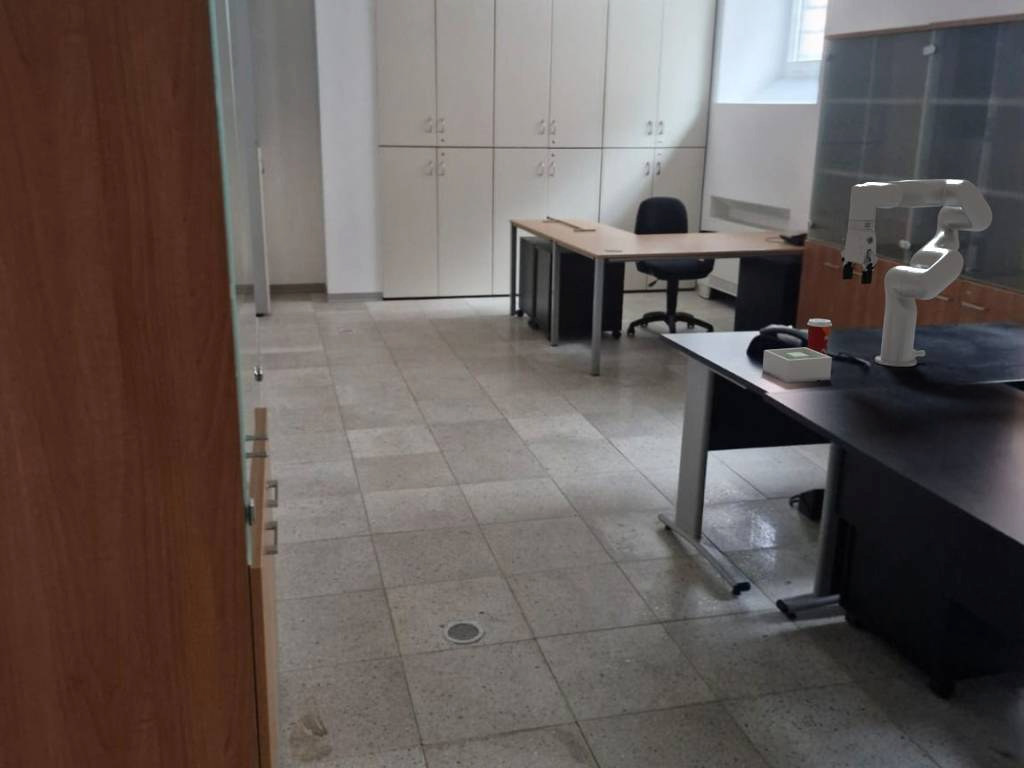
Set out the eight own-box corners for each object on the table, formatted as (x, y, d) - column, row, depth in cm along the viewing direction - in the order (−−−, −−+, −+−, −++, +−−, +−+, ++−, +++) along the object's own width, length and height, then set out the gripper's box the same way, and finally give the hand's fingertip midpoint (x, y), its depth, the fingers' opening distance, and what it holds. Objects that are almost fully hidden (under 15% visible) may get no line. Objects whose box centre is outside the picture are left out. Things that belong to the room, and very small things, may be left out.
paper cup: (830, 365, 292) (833, 323, 288) (805, 364, 293) (808, 322, 290) (827, 359, 299) (830, 318, 295) (803, 359, 301) (806, 317, 297)
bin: (803, 368, 288) (805, 347, 286) (830, 379, 274) (831, 357, 272) (762, 371, 285) (764, 350, 283) (786, 383, 271) (788, 360, 269)
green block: (798, 370, 282) (800, 352, 281) (807, 374, 277) (809, 355, 276) (784, 371, 281) (785, 353, 279) (793, 375, 276) (794, 356, 275)
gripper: (890, 227, 267) (884, 285, 271) (855, 223, 283) (850, 277, 287) (867, 228, 265) (862, 286, 270) (834, 223, 281) (829, 278, 286)
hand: (856, 281), depth 279 cm, fingers open, 9 cm apart
